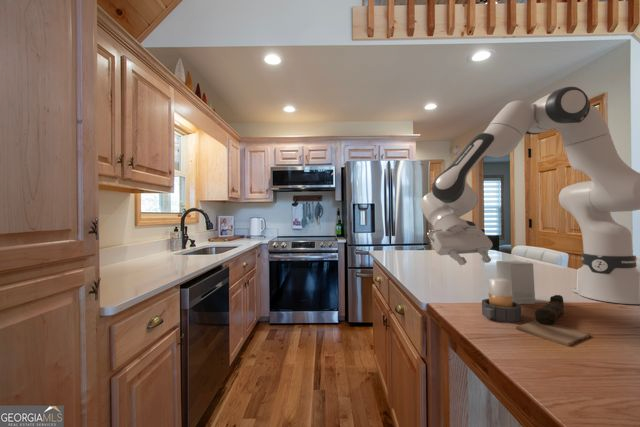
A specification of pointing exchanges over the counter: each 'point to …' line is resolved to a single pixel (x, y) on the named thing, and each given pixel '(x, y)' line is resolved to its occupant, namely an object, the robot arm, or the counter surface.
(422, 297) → the counter surface
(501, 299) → the two-tone cylinder
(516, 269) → the supplement box
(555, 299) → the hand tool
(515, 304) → the collar
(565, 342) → the walnut board
